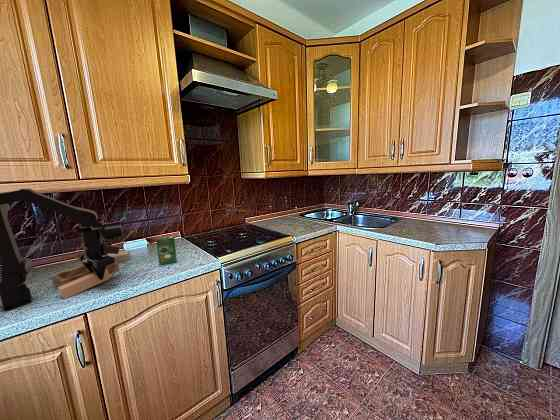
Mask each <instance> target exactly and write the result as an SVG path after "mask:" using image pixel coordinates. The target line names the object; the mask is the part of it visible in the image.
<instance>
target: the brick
mask: <svg viewBox="0 0 560 420" xmlns="http://www.w3.org/2000/svg"><path fill="white" fill-rule="evenodd" d="M130 251H131V250H130V249H126V250H125V249H124V250H119V253H118V254H108V253H107V254H108V256H111V257H114V258H115V262H118V264H120V263H125V262H129V261H131V257H132V256H131V252H130ZM106 256H107V255H106ZM103 257H104V256H103Z"/></svg>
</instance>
